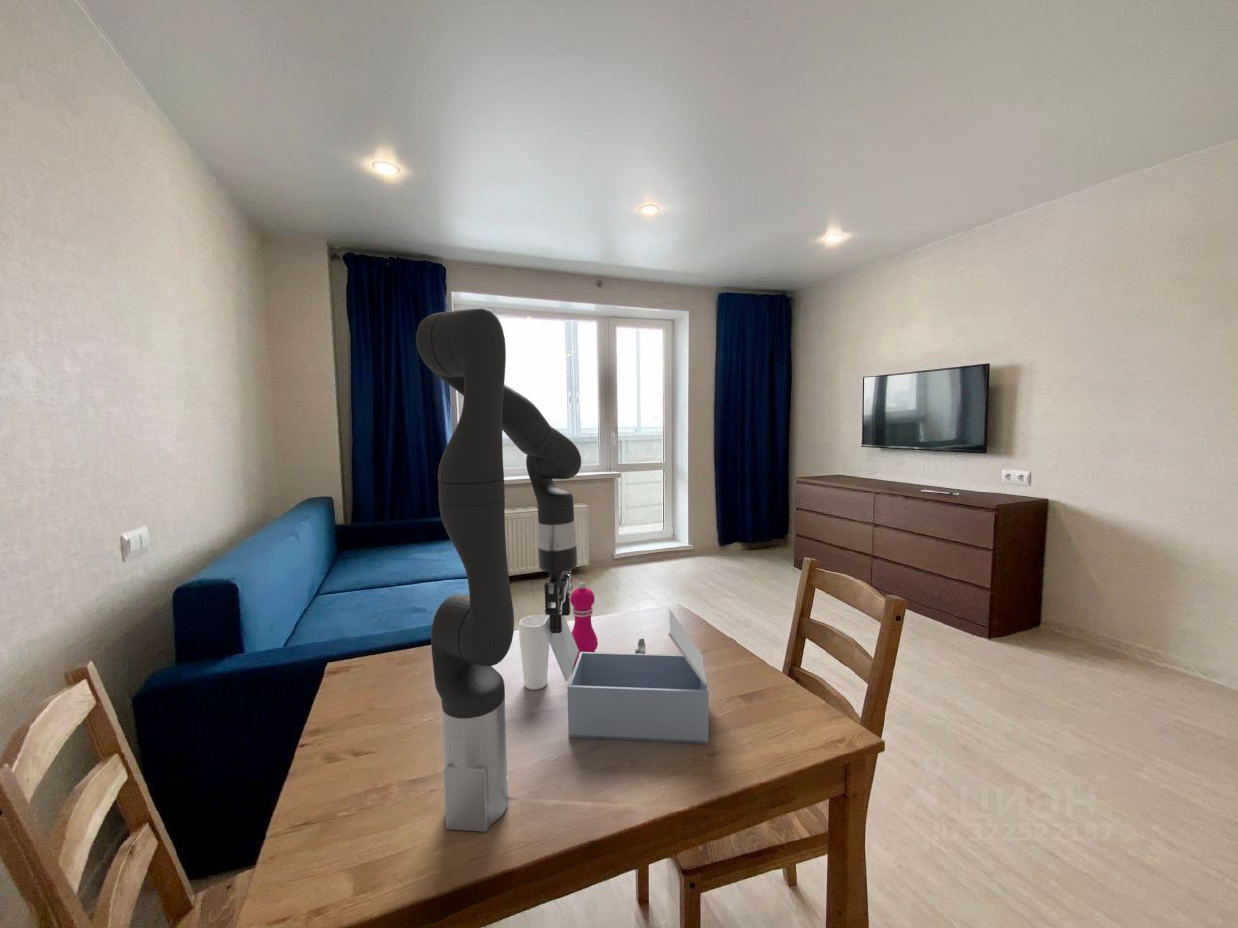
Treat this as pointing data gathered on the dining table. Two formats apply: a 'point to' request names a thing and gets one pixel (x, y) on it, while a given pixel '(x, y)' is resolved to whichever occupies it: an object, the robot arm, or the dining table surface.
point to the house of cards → (641, 647)
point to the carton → (637, 699)
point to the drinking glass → (534, 651)
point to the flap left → (562, 646)
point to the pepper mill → (583, 619)
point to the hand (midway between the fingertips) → (560, 623)
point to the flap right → (685, 645)
